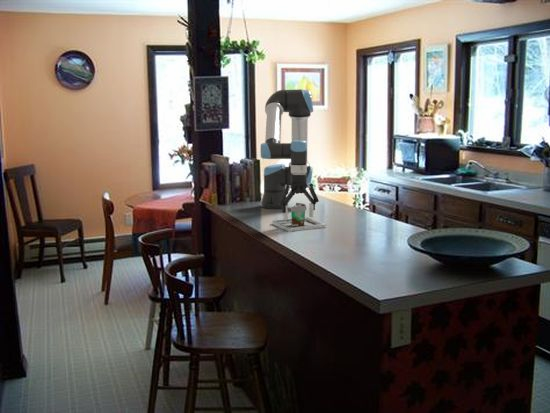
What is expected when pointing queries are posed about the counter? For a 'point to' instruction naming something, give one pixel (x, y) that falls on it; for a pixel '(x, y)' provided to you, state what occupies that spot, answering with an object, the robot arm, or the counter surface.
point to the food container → (298, 214)
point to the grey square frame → (319, 225)
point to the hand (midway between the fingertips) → (298, 218)
